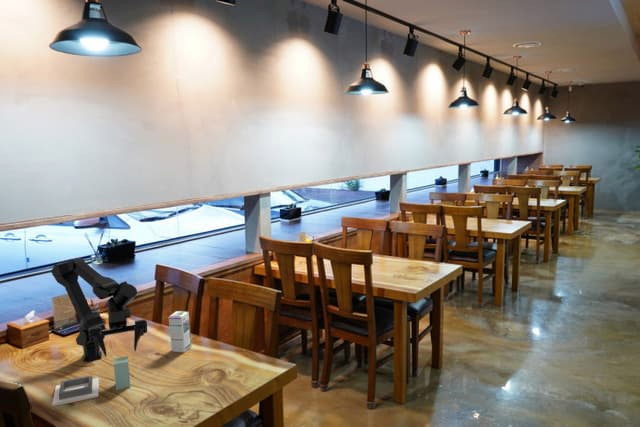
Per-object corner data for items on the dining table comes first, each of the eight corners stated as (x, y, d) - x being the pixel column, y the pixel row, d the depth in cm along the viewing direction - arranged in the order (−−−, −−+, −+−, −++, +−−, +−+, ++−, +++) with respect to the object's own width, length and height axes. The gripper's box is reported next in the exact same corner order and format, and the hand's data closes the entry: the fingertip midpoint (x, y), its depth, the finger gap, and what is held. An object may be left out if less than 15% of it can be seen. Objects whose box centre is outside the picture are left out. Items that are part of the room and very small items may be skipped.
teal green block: (115, 384, 167) (113, 358, 166) (129, 381, 168) (127, 356, 167) (116, 390, 163) (113, 364, 161) (130, 387, 164) (128, 361, 163)
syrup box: (185, 352, 191) (182, 316, 189) (170, 351, 192) (168, 315, 190) (191, 346, 196) (189, 311, 194) (178, 345, 198) (175, 310, 196)
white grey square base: (56, 387, 165) (55, 379, 165) (98, 379, 170) (98, 371, 170) (52, 406, 154) (51, 397, 153) (98, 396, 159) (97, 388, 158)
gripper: (85, 305, 166) (88, 348, 157) (144, 297, 173) (149, 338, 165) (88, 320, 174) (91, 362, 166) (144, 312, 182) (149, 351, 173)
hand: (120, 353), depth 167 cm, fingers open, 9 cm apart
